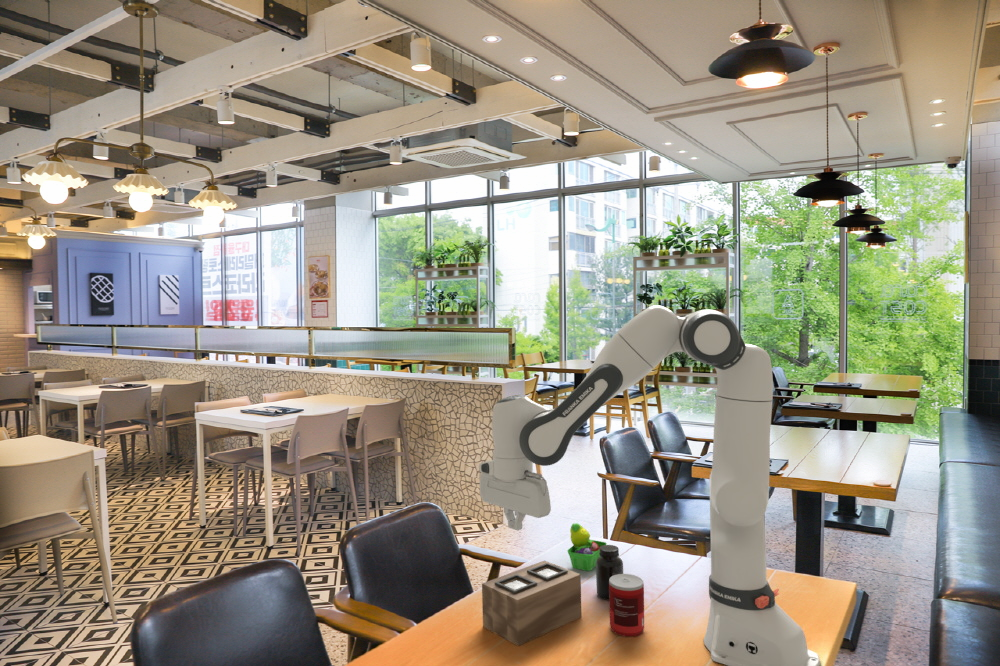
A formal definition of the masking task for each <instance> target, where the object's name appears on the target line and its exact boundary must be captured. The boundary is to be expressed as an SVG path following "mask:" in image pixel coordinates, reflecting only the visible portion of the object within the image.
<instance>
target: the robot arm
mask: <svg viewBox="0 0 1000 666" xmlns="http://www.w3.org/2000/svg"><path fill="white" fill-rule="evenodd" d="M739 331H740V330H738V327H737V325H736V324H735V322H734V321H733V320H732V319H731V318H730V316H728V315H727V314H725V313H723V312H721V311H718V310H715V309H708V308H707V309H699V310H697V311H694V312H690V313H688V314H683V315H680V316H679V315H677V314H676V313H675V312H673V311H672V310H670V309H669V308H668V307H666V306H662V305H659V304H654V305H650V306H649V307H647V308H645V309H644V310H642V311H641V312H639V313H638V314H637V315H635V316H634V317H632V318H631V319H630V320H628V322H626V323H625V324H624V325H623V326H622V327H620V329H618V330H617V331H616V332H615V333H614V335H612V337H610V339H609V340H608V341H607V342H606V344H605V345H604V346H603V347H602V349H601V350H600V352H599V353H598V355H597V356H596V358H595V360H594V362H593V363H592V365H591V367H590V369H589V371H588V372H587V374H586V376H585V377H584V379H583V380H582V381H581V383H580V384H579V385H577V387H575V389H573V391H572V392H571V393H570V394H569V395H568V396H566V398H564V399H563V401H561V403H560V404H558V405H557V406H556V407H555V408H551V407H548V406H544V405H542V404H539V403H537V402H536V401H534V400H532V399H530V398H529V397H528V396H527V395H524V394H516V395H511V396H506V397H503V398H502V399H499V400H497V402H495V404H494V406H493V409H492V417H491V418H492V419H491V420H492V421H491V422H492V423H491V431H492V432H491V434H492V439H493V444H494V448H493V451H492V459H491V460H486V461H483V462H480V463H479V465H478V470H479V472H480V475H479V495H480V499H481V501H482V502H483V503H487V504H490V505H493V506H497V507H500V508H503V513H504V516H505V518H506V521H507V528H508V529H512V530H515V531H518V532H519V531H520V530H521V531H522V530H523V522H524V520H525V516H530V517H533V518H536V519H541V518H544V517H547V516H549V515H550V513H551V511H552V508H551V507H552V506H551V505H552V504H551V496H550V492H549V487H548V482H547V480H546V479H545V478H544V477H543V475H542V474H541V473H538V472H534V469H533V467H534V465H533V464H535V465H538V466H543V467H545V466H547V467H548V466H551V465H555V464H556V463H558V462H559V461H561V460H562V459H563V457H564V456H565V454H566V452H567V449H568V447H569V445H570V443H571V441H572V439H573V436H574V434H575V433H576V432H577V431H578V430H579V429H580V428H581V427H582V426H583V425H584V424H586V422H587V421H588V420H590V418H591V417H592V416H593V415H594V414H595V413H596V412H598V410H599V409H600V408H601V407H603V405H605V404H606V403H608V402H610V400H611V399H613V398H614V397H617V396H618V395H620V394H621V393H623V392H625V391H626V390H628V389H629V388H631V387H632V386H634V385H636V384H637V383H638V382H641V380H643V379H644V378H645V377H647V375H649V374H650V373H651V372H652V371H653V370H654V369H655V368H656V367H657V366H659V364H660V363H661V362H662V361H663V360H665V358H667V357H668V356H671V354H674V353H679V352H681V353H682V352H683V353H684V354H686V356H688V357H689V358H690V359H693V360H694V361H697V362H700V363H702V364H705V365H709V366H710V367H712V368H714V369H715V371H716V377H717V378H716V379H717V383H716V384H717V385H716V393H715V394H716V395H715V409H714V425H713V445H712V462H711V470H710V474H709V522H710V524H709V525H710V526H709V527H710V528H709V529H710V574H709V577H708V596H709V601H710V605H709V606H710V607H709V616H708V621H707V622H708V623H707V626H706V631H705V633H704V634H705V635H704V637H703V644H704V645H705V648H706V649H707V650H709V651H708V652H710V657H711V660H712V661H714V662H716V663H719V664H722V665H725V666H820V665H821V664H820V657H819V656H820V655H819V654H818V653H817V652H815V651H812V650H811V649H809V648H808V644H807V639H806V635H805V632H804V630H803V628H802V627H801V625H799V624H798V623H797V622H796V621H795V620H794V619H793V618H792V617H791V616H790V615H788V613H786V611H785V610H784V609H783V608H781V606H780V605H778V604H777V603H776V599H775V597H777V596H778V595H779V594H780V593H779V591H780V589H779V588H777V589H775V590H772V588H771V586H770V584H769V582H768V580H767V539H766V528H765V527H766V526H765V525H766V524H765V514H766V512H767V509H768V505H769V499H770V498H769V497H770V496H769V495H770V468H771V463H770V459H771V458H770V456H771V454H770V452H771V450H770V448H771V447H770V446H771V445H770V444H771V443H770V442H771V427H772V414H773V413H772V412H773V410H772V409H773V397H774V396H773V395H774V393H773V392H774V380H773V379H774V378H773V368H772V361H771V360H772V359H771V356H770V354H769V353H768V351H766V350H765V349H763V347H760V346H758V345H755V344H749V343H745V341H744V340H743V338H742V335H741V334H740V332H739Z"/></svg>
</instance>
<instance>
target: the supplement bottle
mask: <svg viewBox="0 0 1000 666" xmlns="http://www.w3.org/2000/svg"><path fill="white" fill-rule="evenodd" d="M619 551H620V550H619V547H618V546H616V545H613V544H606V545H603V546H600V548H599V555H600V557H599V558H597V560H596V566H595V581H596V582H595V583H596V594H597V596H598V597H599V598H601V599H602V600H606V601H609V579H610V577H612V576H614V575H617V574H624V561H623V560H622V559H621V558H620V557H619V556H620V553H619Z"/></svg>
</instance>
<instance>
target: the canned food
mask: <svg viewBox="0 0 1000 666" xmlns="http://www.w3.org/2000/svg"><path fill="white" fill-rule="evenodd" d="M644 584H645V583H644V580H643V578H642V577H640V576H638V575H634V574H631V573H623V574H617V575H614V576H612V577H610V579H609V600H608V601H609V604H608V605H609V608H608V609H609V626H610V630H611V631H612V632H614V633H615V634H616V635H618V636H622V637H628V638H629V637H637V636H640V635H641V634H642V633H643V632H644V629H645V585H644Z"/></svg>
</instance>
